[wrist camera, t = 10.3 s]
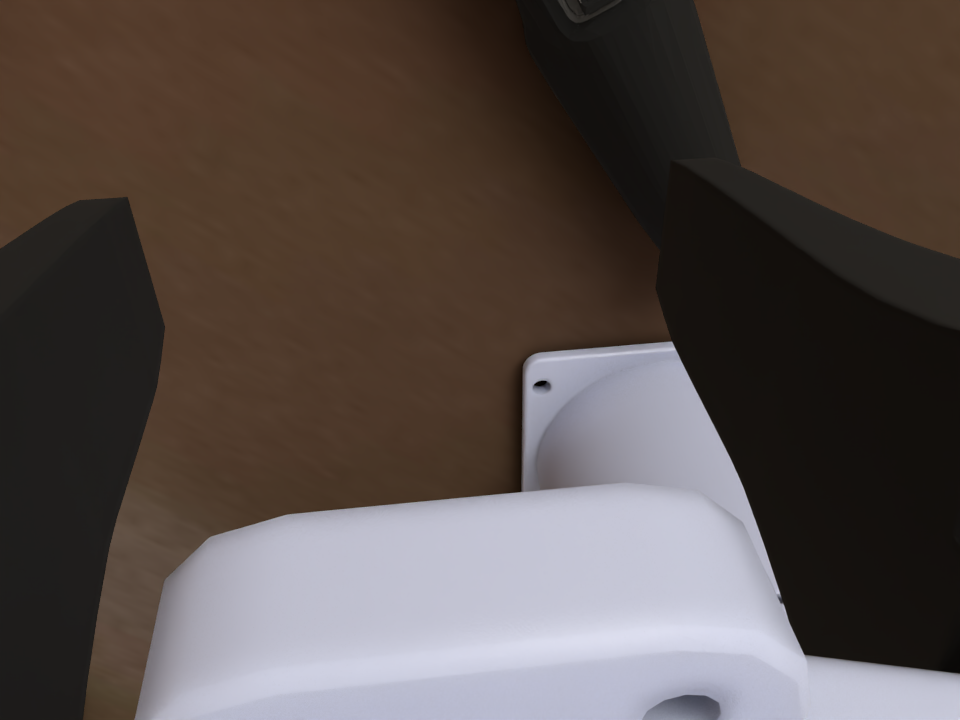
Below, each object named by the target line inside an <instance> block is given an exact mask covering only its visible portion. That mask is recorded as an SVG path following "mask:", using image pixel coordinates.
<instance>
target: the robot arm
mask: <svg viewBox="0 0 960 720" xmlns="http://www.w3.org/2000/svg"><path fill="white" fill-rule="evenodd" d="M656 291H657V295H658V298H659V301H660V305H661V308H662V311H663V315H664V318H665V321H666V324H667V327H668V330H669V333H670V336H671V339H672V342H660V343H648V344H636V345H624V346H612V347H600V348H588V349H576V350H564V351H552V352H540V353H536V354H533V355H532V356H530V357H528V358H527V360H526V361H525V362H524V365H523V393H522V479H521V492H516V493H506V494H495V495H485V496H474V497H464V498H453V499H443V500H433V501H422V502H412V503H401V504H391V505H380V506H370V507H359V508H349V509H338V510H328V511H317V512H307V513H296V514H288V515H284V516H281V517H277V518H274V519H270V520H267V521H263V522H260V523H257V524H253V525H250V526H246V527H243V528H239V529H236V530H232V531H229V532H225V533H222V534H219V535H215V536H212V537H209V538H208V539H207V540H206V541H205V542H204V543H203V544H202V545H201V546H200V547H199V548H198V549H197V550H196V551H194V552H193V553H192V554H191V555H190V556H189V557H188V558H187V559H186V560H185V561H184V562H183V563H182V564H181V565H180V566H179V567H178V568H177V569H176V570H174V571H173V572H172V573H171V574H170V575H169V576H168V577H167V578H166V579H165V580H164V585H163V589H162V594H161V599H160V603H159V608H158V613H157V618H156V622H155V627H154V632H153V636H152V641H151V646H150V650H149V655H148V660H147V665H146V669H145V674H144V679H143V683H142V688H141V693H140V697H139V702H138V707H137V712H136V716H135V720H960V259H958V258H955V257H952V256H949V255H946V254H942V253H939V252H936V251H933V250H930V249H927V248H924V247H921V246H918V245H915V244H912V243H910V242H907V241H904V240H901V239H899V238H896V237H893V236H891V235H888V234H886V233H884V232H881V231H879V230H876V229H874V228H872V227H869V226H867V225H864V224H862V223H860V222H857V221H855V220H852V219H850V218H848V217H846V216H843V215H841V214H839V213H837V212H835V211H832V210H830V209H828V208H826V207H824V206H822V205H820V204H817V203H815V202H813V201H811V200H809V199H807V198H805V197H803V196H801V195H799V194H797V193H795V192H793V191H791V190H788V189H786V188H784V187H782V186H780V185H778V184H776V183H774V182H772V181H770V180H768V179H766V178H764V177H762V176H760V175H758V174H756V173H754V172H751V171H749V170H747V169H745V168H743V167H740V166H738V165H736V164H733V163H731V162H728V161H725V160H722V159H719V158H715V157H713V158H698V159H684V160H671V163H670V171H669V180H668V188H667V197H666V205H665V213H664V222H663V230H662V239H661V247H660V256H659V264H658V272H657V281H656ZM164 331H165V325H164V322H163V318H162V315H161V312H160V308H159V305H158V301H157V298H156V294H155V291H154V287H153V284H152V280H151V277H150V273H149V270H148V266H147V263H146V260H145V256H144V253H143V249H142V246H141V242H140V239H139V235H138V232H137V228H136V225H135V221H134V218H133V214H132V211H131V208H130V204H129V201H128V197H123V198H108V199H93V200H79V201H77V202H75V203H73V204H70V205H68V206H66V207H65V208H63V209H61V210H59V211H58V212H56V213H54V214H53V215H51V216H49V217H48V218H46V219H45V220H43V221H42V222H40V223H39V224H37V225H35V226H34V227H32V228H31V229H29V230H28V231H26V232H25V233H23V234H22V235H20V236H19V237H17V238H16V239H14V240H13V241H11V242H10V243H8V244H7V245H5V246H4V247H2V248H1V249H0V720H83V713H84V705H85V697H86V688H87V681H88V674H89V667H90V661H91V654H92V647H93V641H94V634H95V627H96V620H97V614H98V608H99V602H100V597H101V591H102V585H103V580H104V574H105V568H106V563H107V557H108V552H109V547H110V543H111V539H112V535H113V531H114V527H115V523H116V519H117V516H118V513H119V509H120V506H121V503H122V500H123V497H124V493H125V490H126V487H127V484H128V481H129V477H130V474H131V471H132V468H133V465H134V461H135V458H136V455H137V452H138V449H139V445H140V442H141V439H142V436H143V432H144V429H145V426H146V422H147V419H148V416H149V413H150V409H151V406H152V403H153V399H154V396H155V392H156V388H157V383H158V377H159V370H160V363H161V356H162V347H163V339H164ZM542 380H543V381H547V383H546V384H544V385H542V386H534V384H535V383H536V382H538V381H542Z"/></svg>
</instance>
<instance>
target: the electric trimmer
mask: <svg viewBox="0 0 960 720" xmlns="http://www.w3.org/2000/svg"><path fill="white" fill-rule="evenodd" d="M516 3H517V5H518V8H519V12H520V15H521V18H522V21H523V28H524V35H525V42H526V45H527V47H528V50H529V53H530V55H531V57H532V59H533V60H534V62H535V64H536V65H537V67H538V69H539V70H540V72H541V73H542V75H543V77H544V78H545V80H546V82H547V83H548V85H549V86H550V88H551V89H552V91H553V93H554V94H555V96H556V97H557V99H558V100H559V102H560V103H561V105H562V106H563V108H564V109H565V111H566V112H567V114H568V115H569V117H570V118H571V120H572V122H573V123H574V125H575V126H576V128H577V129H578V131H579V132H580V134H581V135H582V137H583V138H584V140H585V141H586V143H587V144H588V146H589V147H590V149H591V151H592V152H593V154H594V155H595V157H596V158H597V160H598V161H599V163H600V164H601V166H602V167H603V169H604V170H605V172H606V173H607V175H608V176H609V178H610V180H611V181H612V183H613V184H614V186H615V187H616V189H617V190H618V192H619V193H620V195H621V196H622V198H623V199H624V201H625V202H626V204H627V205H628V207H629V208H630V210H631V212H632V213H633V215H634V216H635V218H636V219H637V221H638V222H639V224H640V225H641V226H642V228H643V229H644V230H645V231H646V233H647V234H648V235H649V237H650V238H651V239H652V241H653V242H654V243H655V245H656V246H657V247H658V248H659V250H660V247H661V239H662V230H663V222H664V213H665V205H666V197H667V188H668V180H669V171H670V163H671V160H684V159H698V158H713V157H715V158H719V159H722V160H725V161H728V162H731V163H733V164H736V165H738V166H740V167H741V165H740V162H739V158H738V155H737V151H736V148H735V144H734V140H733V137H732V133H731V130H730V126H729V123H728V119H727V116H726V112H725V109H724V105H723V102H722V98H721V95H720V91H719V88H718V84H717V81H716V77H715V74H714V70H713V67H712V63H711V60H710V56H709V53H708V49H707V46H706V42H705V38H704V35H703V31H702V28H701V24H700V21H699V17H698V14H697V10H696V7H695V4H694V1H693V0H516Z"/></svg>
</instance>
